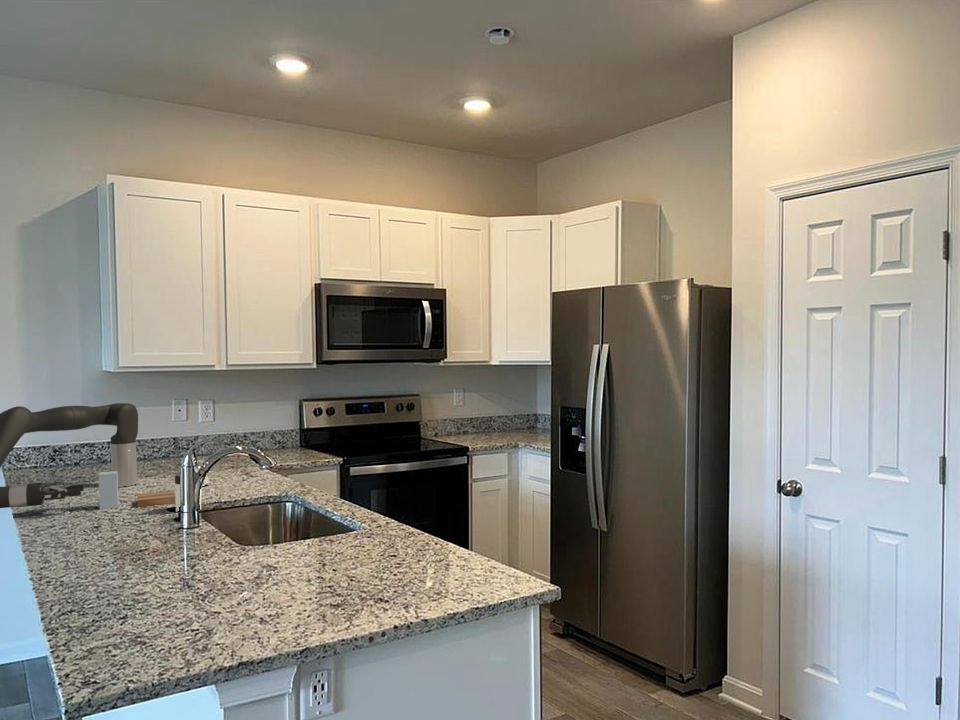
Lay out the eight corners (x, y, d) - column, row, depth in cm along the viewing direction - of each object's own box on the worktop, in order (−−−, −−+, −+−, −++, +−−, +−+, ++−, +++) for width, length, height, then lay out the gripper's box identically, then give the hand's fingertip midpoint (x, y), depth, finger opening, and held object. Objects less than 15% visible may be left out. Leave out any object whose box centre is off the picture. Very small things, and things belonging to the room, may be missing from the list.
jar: (201, 511, 239) (200, 475, 238) (175, 513, 236) (173, 477, 236) (202, 505, 247) (201, 471, 247) (176, 508, 244) (175, 473, 244)
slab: (138, 502, 258) (138, 494, 258) (174, 498, 263) (174, 490, 263) (137, 509, 247) (137, 500, 247) (175, 505, 252) (175, 496, 252)
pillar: (101, 506, 250) (99, 472, 250) (118, 504, 252) (117, 470, 252) (99, 509, 245) (98, 474, 245) (117, 507, 247) (116, 473, 247)
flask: (214, 484, 288) (213, 459, 288) (205, 487, 281) (204, 462, 281) (196, 484, 289) (196, 459, 289) (187, 487, 282) (187, 462, 282)
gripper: (22, 487, 232) (79, 482, 239) (30, 480, 245) (83, 475, 252) (23, 510, 232) (80, 504, 239) (30, 502, 245) (84, 496, 252)
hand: (82, 489), depth 245 cm, fingers open, 8 cm apart
